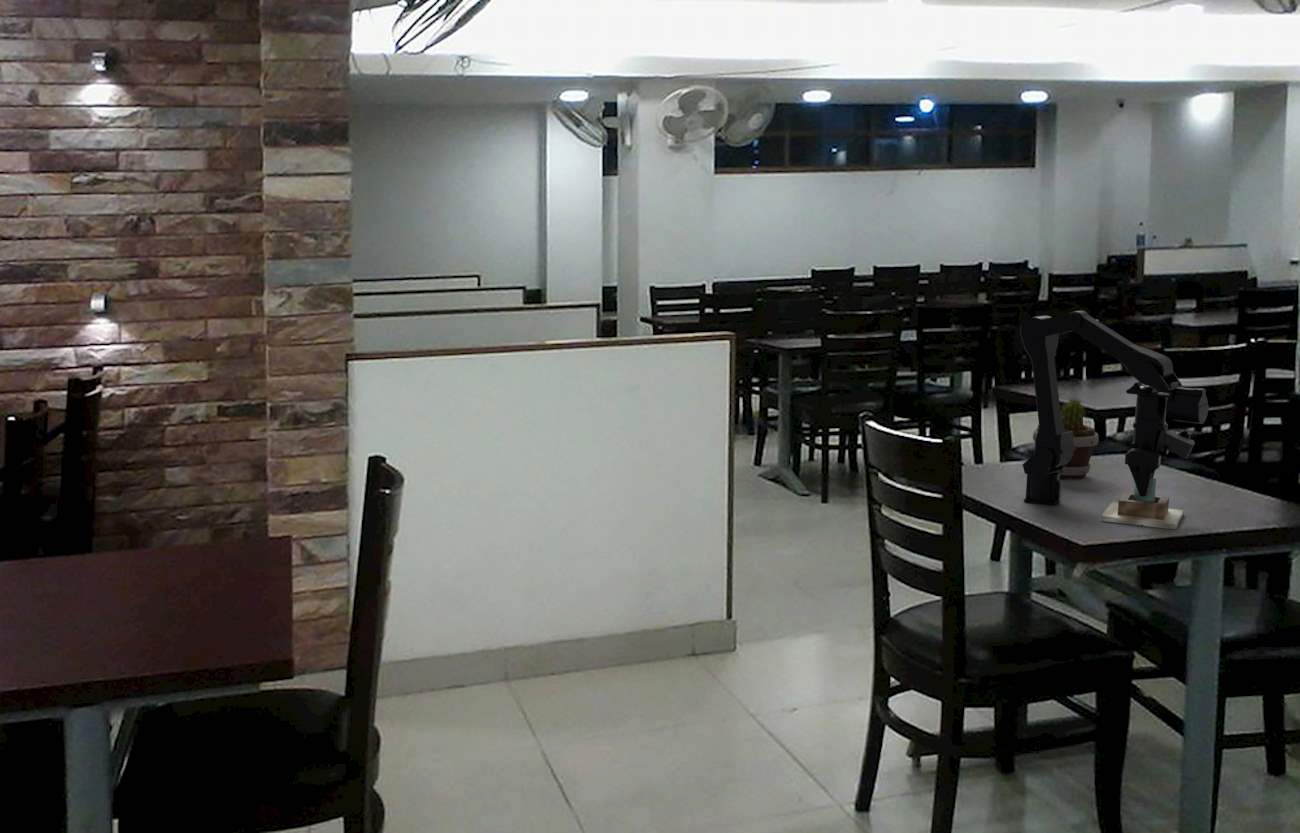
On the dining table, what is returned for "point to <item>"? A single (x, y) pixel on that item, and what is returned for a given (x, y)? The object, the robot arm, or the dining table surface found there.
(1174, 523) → the socket board
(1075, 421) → the flowerpot
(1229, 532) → the dining table surface
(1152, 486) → the peg
